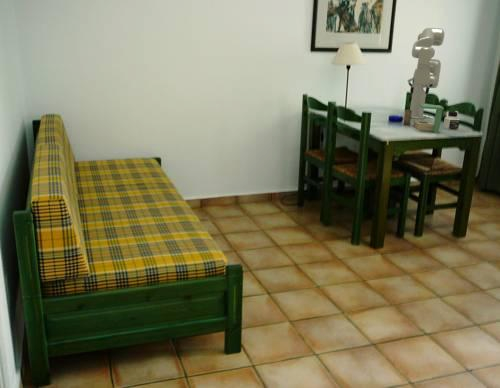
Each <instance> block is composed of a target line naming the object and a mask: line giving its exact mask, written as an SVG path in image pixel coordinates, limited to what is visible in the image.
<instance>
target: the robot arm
mask: <svg viewBox="0 0 500 388" xmlns="http://www.w3.org/2000/svg"><path fill="white" fill-rule="evenodd" d="M444 39H445V31H444V29H443V28H437V27H427V28H425V29H423V30H422V32H420V33H419V34H418V35H417V40H415V42H414V43H413V45H412V50H411V56H412V58H415V59H417V66H416V68H415V69H414V72H413V77H412V78H408V80H407V83H408V85H409V87H410V89H409V90H410V91H409V92H410V93H411V102H410V107H409V108H410V109H409V110H412V113H411V119H416V120H417V119H418V120H419V119H420V120H421V119H425V118H426V117H425V115H424V108H421V107H420V106H419V104H424V105H426V104H425V103H426V97H427V95H428V94H429V93H430V92H429V91H430V89H436V88H438V86H439V81H440V75H441V74H440V73H441V67H442V63H441V60H439V59H434V58H433V57H435V54H436V51H435V48H433V47H432V46H435V47H436V46H437V47H439V46H442V45H443V43H444V41H445V40H444ZM432 58H433V59H432ZM411 82H412V83H411ZM424 88H425V89H424Z"/></svg>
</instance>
